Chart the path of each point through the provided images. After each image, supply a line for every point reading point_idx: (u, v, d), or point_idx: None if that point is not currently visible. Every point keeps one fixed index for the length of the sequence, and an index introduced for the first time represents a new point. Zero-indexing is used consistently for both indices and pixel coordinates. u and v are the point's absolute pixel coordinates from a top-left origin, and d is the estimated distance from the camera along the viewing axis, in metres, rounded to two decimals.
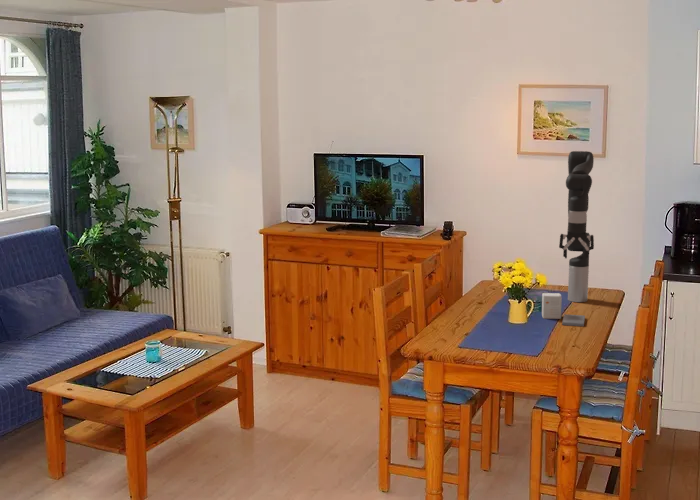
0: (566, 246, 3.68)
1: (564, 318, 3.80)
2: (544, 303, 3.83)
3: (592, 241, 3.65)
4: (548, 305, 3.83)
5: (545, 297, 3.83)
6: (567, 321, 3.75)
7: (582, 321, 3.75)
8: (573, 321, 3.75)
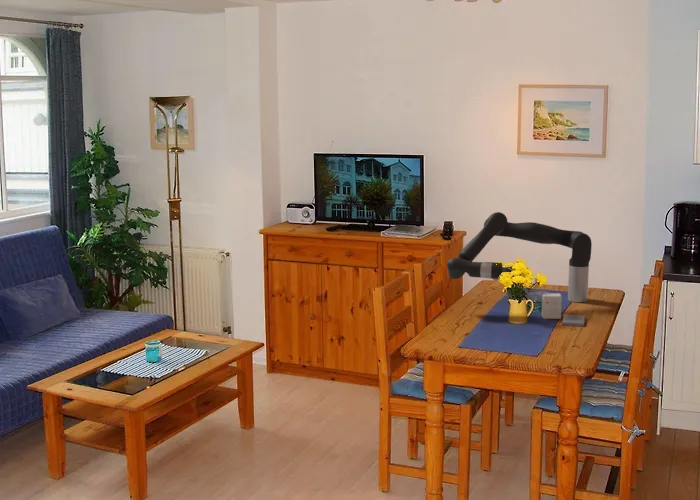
0: None
1: (564, 318, 3.80)
2: (544, 303, 3.83)
3: None
4: (548, 305, 3.83)
5: (545, 297, 3.83)
6: (567, 321, 3.75)
7: (582, 321, 3.75)
8: (573, 321, 3.75)
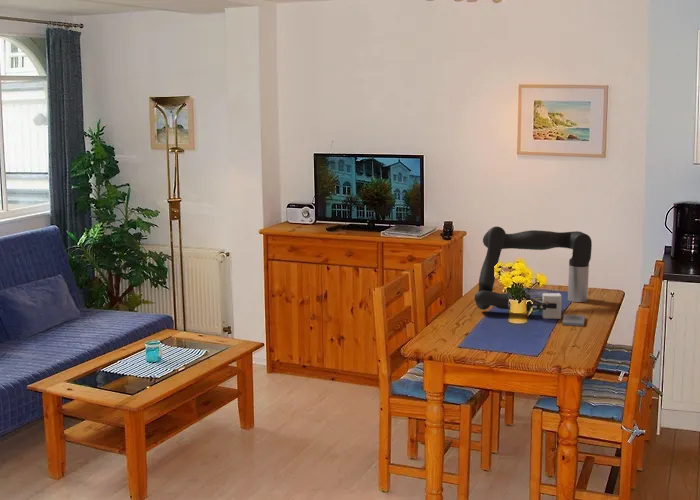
0: None
1: (564, 318, 3.80)
2: None
3: None
4: None
5: (545, 297, 3.83)
6: (567, 321, 3.75)
7: (582, 321, 3.75)
8: (573, 321, 3.75)
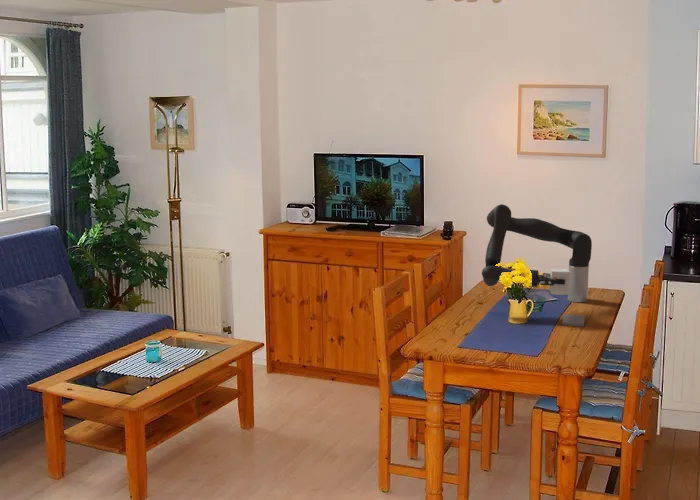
0: None
1: (564, 318, 3.80)
2: None
3: None
4: None
5: (553, 273, 3.78)
6: (567, 321, 3.75)
7: (582, 321, 3.75)
8: (573, 321, 3.75)
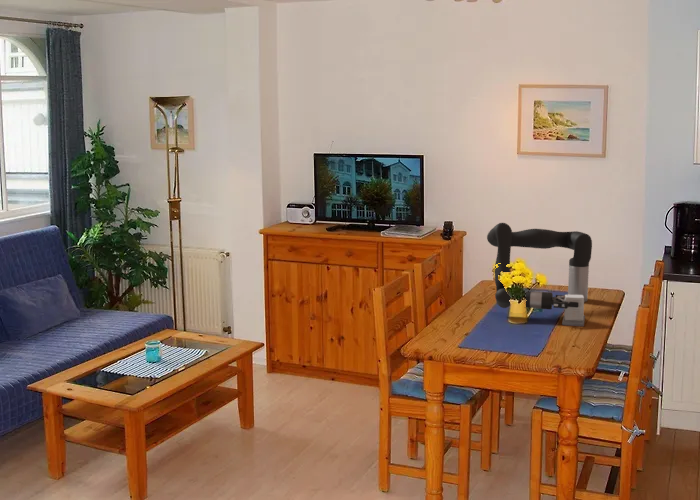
0: None
1: (564, 318, 3.80)
2: None
3: None
4: None
5: (567, 298, 3.75)
6: (567, 321, 3.75)
7: (582, 321, 3.75)
8: (573, 321, 3.75)
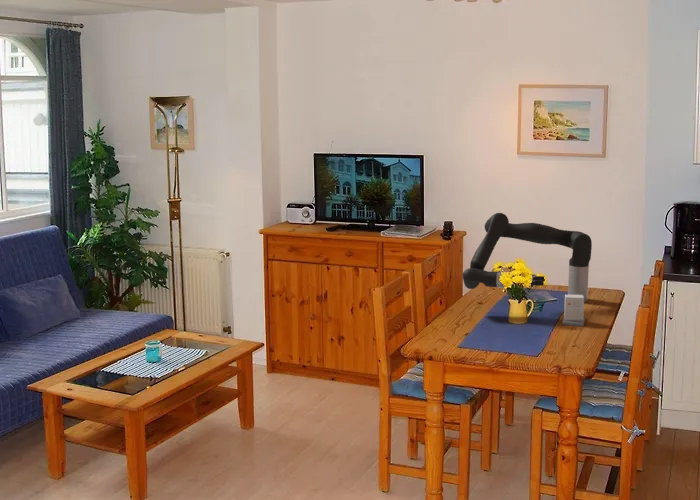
0: None
1: (564, 318, 3.80)
2: (566, 304, 3.75)
3: None
4: (570, 306, 3.75)
5: (567, 298, 3.75)
6: (567, 321, 3.75)
7: (582, 321, 3.75)
8: (573, 321, 3.75)
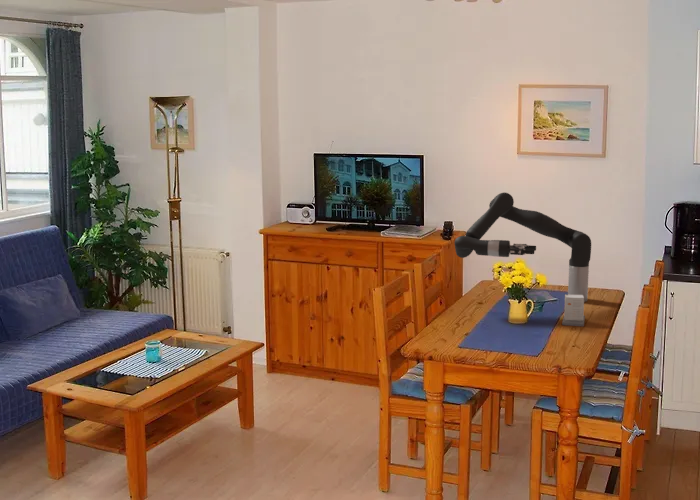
0: None
1: (564, 318, 3.80)
2: (566, 304, 3.75)
3: None
4: (570, 306, 3.75)
5: (567, 298, 3.75)
6: (567, 321, 3.75)
7: (582, 321, 3.75)
8: (573, 321, 3.75)
